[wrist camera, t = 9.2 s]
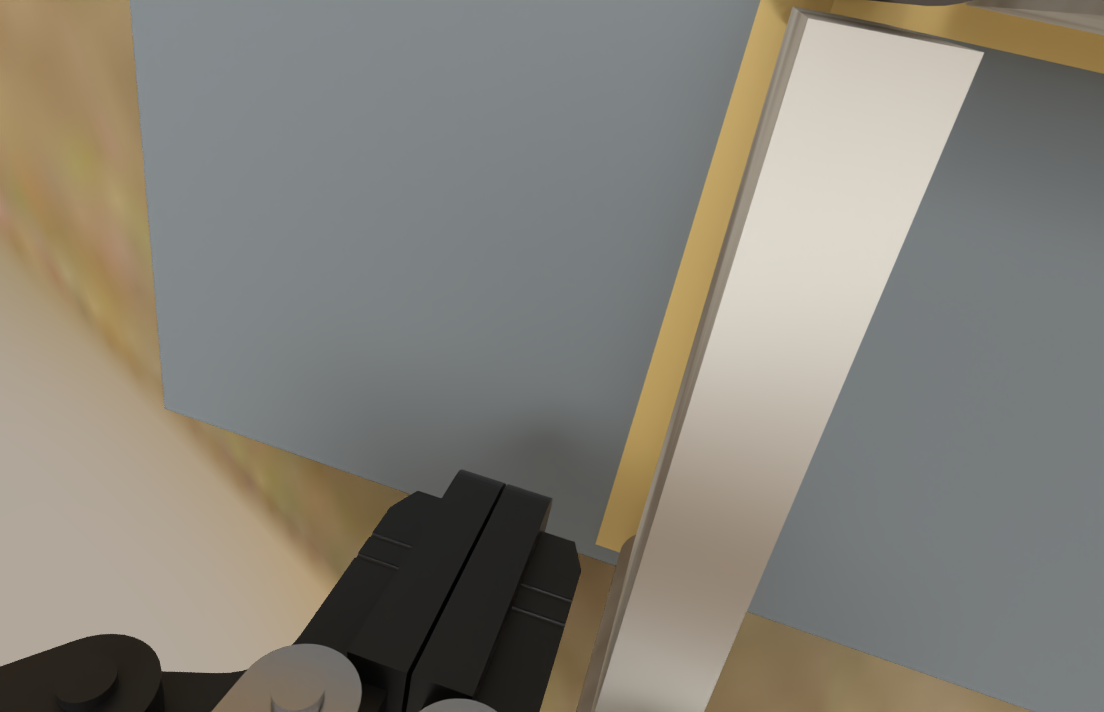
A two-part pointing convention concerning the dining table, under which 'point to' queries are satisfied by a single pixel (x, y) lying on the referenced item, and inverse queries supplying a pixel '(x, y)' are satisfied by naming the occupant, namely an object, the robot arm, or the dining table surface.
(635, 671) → the hinged panel
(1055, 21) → the fixed fence
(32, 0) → the dining table surface
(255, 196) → the card
